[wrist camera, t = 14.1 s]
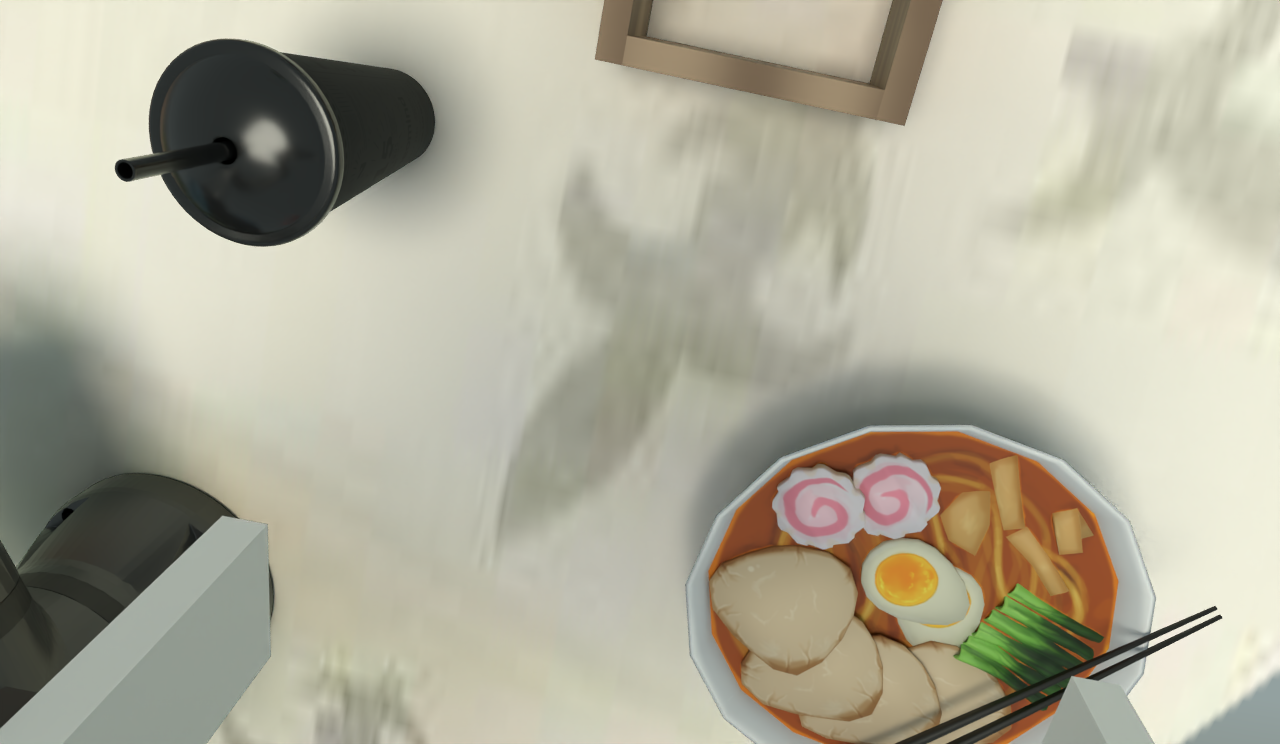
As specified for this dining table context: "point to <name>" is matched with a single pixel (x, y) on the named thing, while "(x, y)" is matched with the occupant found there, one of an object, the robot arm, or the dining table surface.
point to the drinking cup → (276, 136)
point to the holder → (875, 100)
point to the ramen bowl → (916, 592)
